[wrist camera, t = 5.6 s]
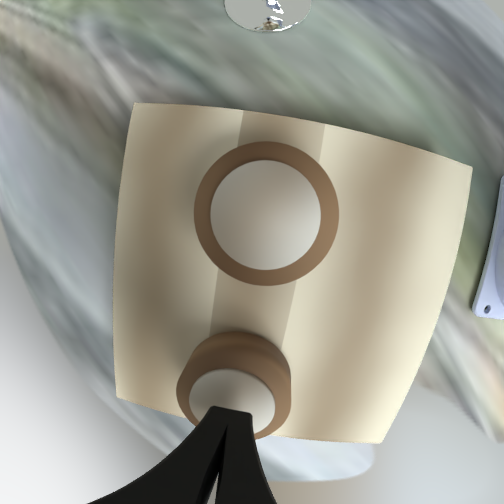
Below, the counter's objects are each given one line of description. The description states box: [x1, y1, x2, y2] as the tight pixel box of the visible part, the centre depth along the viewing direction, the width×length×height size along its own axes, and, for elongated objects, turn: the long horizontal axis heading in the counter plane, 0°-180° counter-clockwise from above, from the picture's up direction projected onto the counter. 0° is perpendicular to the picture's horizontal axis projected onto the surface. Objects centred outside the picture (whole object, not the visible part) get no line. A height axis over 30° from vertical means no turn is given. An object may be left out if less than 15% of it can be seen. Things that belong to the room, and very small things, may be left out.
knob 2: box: [176, 332, 291, 440], centre depth 13 cm, size 4×4×5 cm
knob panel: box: [113, 103, 473, 443], centre depth 14 cm, size 14×14×3 cm
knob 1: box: [194, 141, 339, 286], centre depth 12 cm, size 4×4×5 cm
